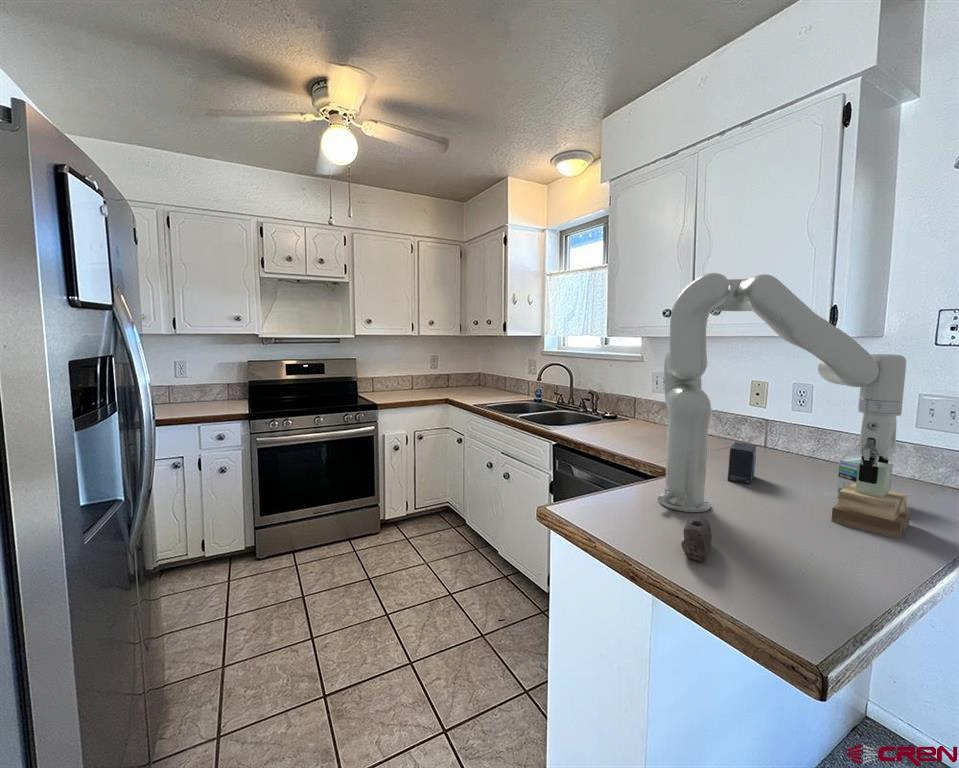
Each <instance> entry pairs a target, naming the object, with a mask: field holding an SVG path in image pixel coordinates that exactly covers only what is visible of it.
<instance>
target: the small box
mask: <svg viewBox="0 0 959 768" xmlns="http://www.w3.org/2000/svg"><path fill="white" fill-rule="evenodd" d="M728 458H729V459H728V471H727V481H728V480H729V481H731V482H735V483H740V484H746V485H751V483H752V481H753V480H754V477H755V472H756V471H755V470H756V458H757V444H750V443H745V442H744V443H743V442H738V441H735V442H733V444H732V445H731V446H730V448H729V456H728ZM729 481H728V482H729Z"/></svg>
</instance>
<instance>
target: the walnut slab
mask: <svg viewBox="0 0 959 768" xmlns="http://www.w3.org/2000/svg"><path fill="white" fill-rule="evenodd" d="M910 512H911V510H910V509H909V510H908V509H905V511H904V512H903V513H902V514H901V515H900V516H899V517H897V518H896V519H895V520H894V521H891V520H887V519H883V518H880V517H876V516H872V515H868V514H864V513H860V512H856V511H852V510H848V509H844V508H840V507H838V503H836V504H835V505H834V506H833V507H832V509H831V522H832V523H836V524H840V525H843V526H844V525H845V526H848V527H852V528H855V529H859V530H863V531H867V532H870V533H871V532H872V533H874V534H879V535H882V536H886V537H889V538H892V539H893V538H894V539H898V540H900V539H901V537H902V536H903V533H904V532H905V531H906V529H907V528H908V526H909V522H910Z"/></svg>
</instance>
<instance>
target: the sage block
mask: <svg viewBox="0 0 959 768" xmlns="http://www.w3.org/2000/svg"><path fill="white" fill-rule="evenodd" d="M877 467H878V477H877V483H876V484H872V483H867V482H862V481H859V480H858V479H859V468H860V462H859V464H858V472H857V481H856V489H855V491H856V492H860V493H864V494H869V495H873V496H877V497H882V498H883V497H884V496H886V495H887V494H888V492H889V484H890V476H891V468H892V465H891V464H886V463H880V462H878V463H877ZM892 469H893V468H892Z"/></svg>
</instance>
